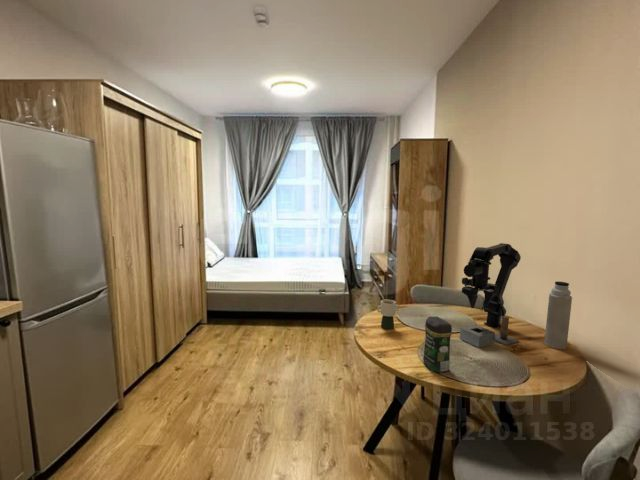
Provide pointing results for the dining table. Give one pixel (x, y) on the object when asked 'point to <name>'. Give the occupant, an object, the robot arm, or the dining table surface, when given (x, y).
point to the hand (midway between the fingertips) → (479, 306)
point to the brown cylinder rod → (504, 328)
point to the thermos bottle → (558, 316)
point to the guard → (477, 335)
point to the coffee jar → (437, 344)
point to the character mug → (388, 313)
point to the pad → (505, 342)
